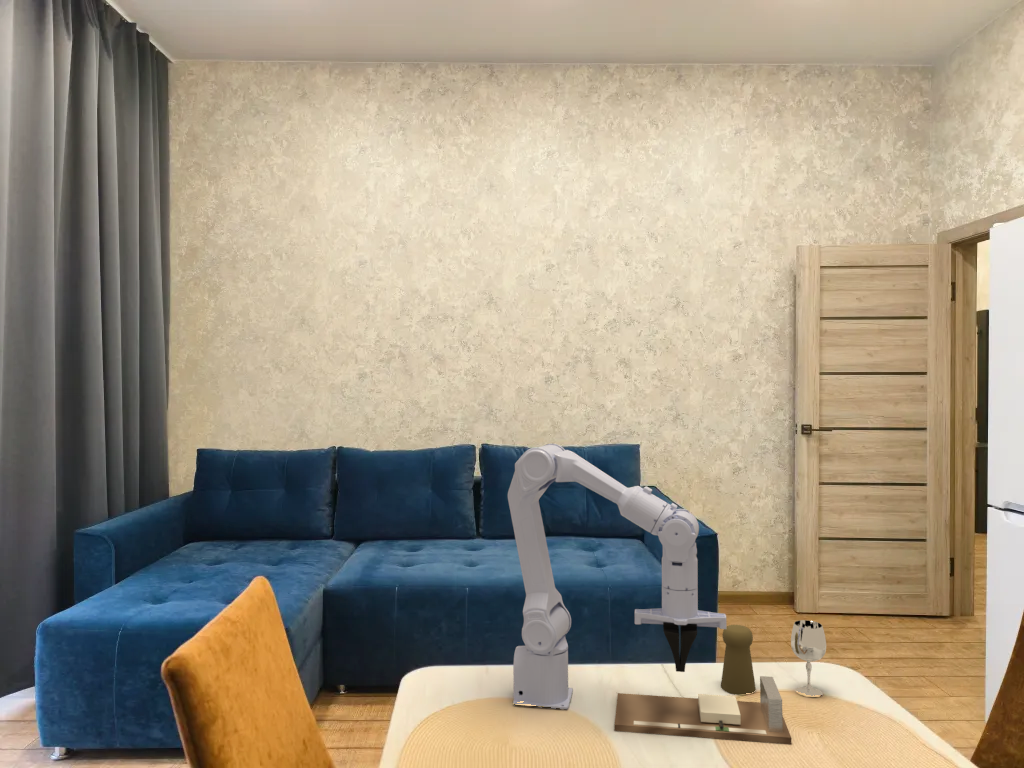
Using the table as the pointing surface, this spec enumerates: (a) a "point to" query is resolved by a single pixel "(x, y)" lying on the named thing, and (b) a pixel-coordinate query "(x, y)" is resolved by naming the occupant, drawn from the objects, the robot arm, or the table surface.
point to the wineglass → (808, 648)
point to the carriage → (719, 709)
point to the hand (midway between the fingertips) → (680, 669)
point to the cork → (737, 661)
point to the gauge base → (691, 719)
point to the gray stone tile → (771, 704)
